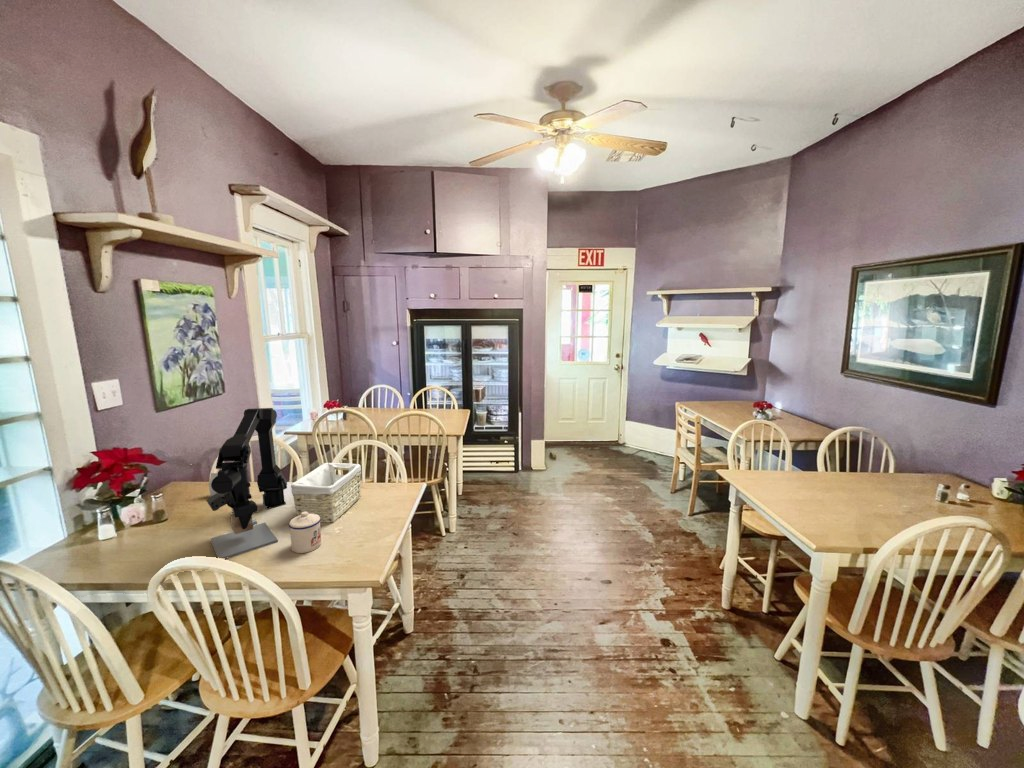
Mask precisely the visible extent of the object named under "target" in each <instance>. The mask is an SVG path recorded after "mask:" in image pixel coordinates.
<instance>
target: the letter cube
mask: <svg viewBox="0 0 1024 768" xmlns="http://www.w3.org/2000/svg"><path fill="white" fill-rule="evenodd" d="M252 520H253V515H252V516H251V519H250V521H249V523H248V526H247V528H246V529H242V527H241V524H240V521H239V518H238V517H234V515H233V514H232V513H231V514H230V522H231V529H232V532H234V533H235V534H238V533H242V532H245V531H248V530H252V529H253V526H254V525H253V522H252Z"/></svg>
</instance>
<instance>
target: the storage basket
mask: <svg viewBox="0 0 1024 768" xmlns="http://www.w3.org/2000/svg"><path fill="white" fill-rule="evenodd" d="M337 470H339V471H341V470H342V471H348V472H347V473H346V474H336V471H337ZM361 475H362V466H361V464H359V463H343V462H325V463H322V464H321V465H319V466H318V467H316V468H314V469H313V470H312V471H310V472H309V473H307V474H306V475H304V476H302V477H300V478H298V480H297V479H296V481H294V482H293V483H291V485H290V488H291V489H290V490H291V494H292V497H293V502H294V506H295V511H296V515H297V516H300V515H301V513H302V512H305V511H306V512H308V513H309V514H317V515H319V516H320V518H321V520H320V523H334V522H336V521H337V520H338V519H339V518H340V517H342V515H343V514H344V513H345V512H346V511H348V510H349V509H350V507H352V506H353V505H354V504H355V503H356V502H357V501H359V500H360V499H361V483H362V482H361ZM297 516H296V517H297Z"/></svg>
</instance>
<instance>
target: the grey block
mask: <svg viewBox="0 0 1024 768" xmlns="http://www.w3.org/2000/svg"><path fill="white" fill-rule="evenodd" d="M216 476H218V472H211V473H210V478H209V483H208V487H209V497H211V496H213V495H215V494H216V493H217V492H215V491H214V490H213V489H212V487H211V483H212V480H213V479H214V478H215V477H216Z"/></svg>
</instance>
